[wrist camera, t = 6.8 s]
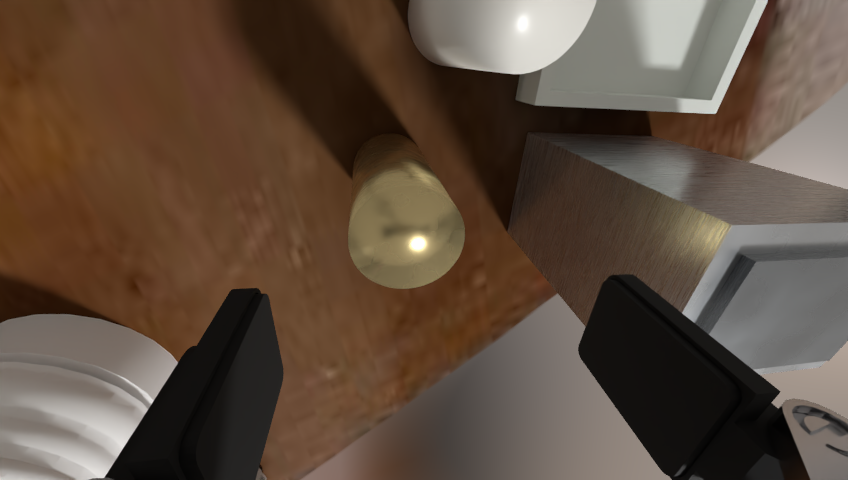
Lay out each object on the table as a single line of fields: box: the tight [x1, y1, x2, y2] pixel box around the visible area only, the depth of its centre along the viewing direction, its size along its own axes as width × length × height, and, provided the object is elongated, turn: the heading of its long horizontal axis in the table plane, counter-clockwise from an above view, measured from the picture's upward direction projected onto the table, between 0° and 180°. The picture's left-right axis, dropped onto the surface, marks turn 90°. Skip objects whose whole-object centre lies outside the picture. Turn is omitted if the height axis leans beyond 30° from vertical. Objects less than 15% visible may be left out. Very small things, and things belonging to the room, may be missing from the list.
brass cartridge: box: [348, 133, 465, 289], centre depth 16 cm, size 4×4×9 cm
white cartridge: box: [408, 0, 597, 74], centre depth 13 cm, size 4×4×9 cm
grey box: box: [507, 132, 848, 375], centre depth 17 cm, size 7×9×13 cm
